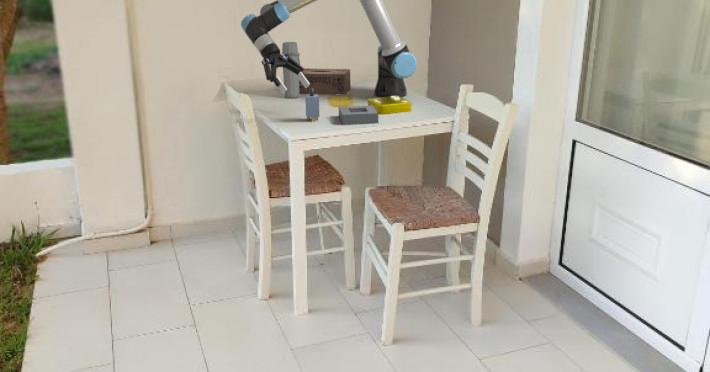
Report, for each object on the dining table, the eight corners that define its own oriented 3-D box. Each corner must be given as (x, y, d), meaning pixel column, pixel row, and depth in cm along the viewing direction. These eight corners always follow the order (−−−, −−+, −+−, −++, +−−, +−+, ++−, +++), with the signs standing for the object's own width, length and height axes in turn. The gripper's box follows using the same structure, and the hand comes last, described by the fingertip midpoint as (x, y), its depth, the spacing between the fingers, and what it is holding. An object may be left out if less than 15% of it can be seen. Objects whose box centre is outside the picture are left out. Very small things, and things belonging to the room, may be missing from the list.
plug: (318, 118, 268) (317, 86, 264) (319, 121, 264) (318, 89, 259) (306, 119, 268) (304, 87, 263) (307, 122, 263) (305, 89, 258)
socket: (372, 114, 272) (372, 105, 271) (378, 123, 259) (378, 113, 258) (338, 116, 271) (338, 106, 269) (343, 124, 258) (342, 114, 256)
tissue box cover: (292, 94, 315) (291, 73, 312) (299, 88, 329) (298, 68, 325) (344, 95, 311) (344, 74, 308) (350, 89, 324) (350, 69, 321)
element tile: (366, 108, 286) (366, 97, 284) (398, 105, 291) (398, 94, 289) (380, 116, 272) (380, 104, 271) (413, 112, 278) (413, 101, 276)
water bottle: (287, 99, 303) (285, 44, 295) (281, 96, 310) (278, 42, 302) (306, 97, 307) (304, 42, 299) (299, 94, 314) (297, 40, 306)
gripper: (284, 50, 280) (312, 89, 277) (241, 58, 262) (270, 100, 258) (292, 38, 276) (321, 78, 272) (249, 45, 257) (279, 88, 253)
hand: (296, 89), depth 265 cm, fingers open, 13 cm apart
